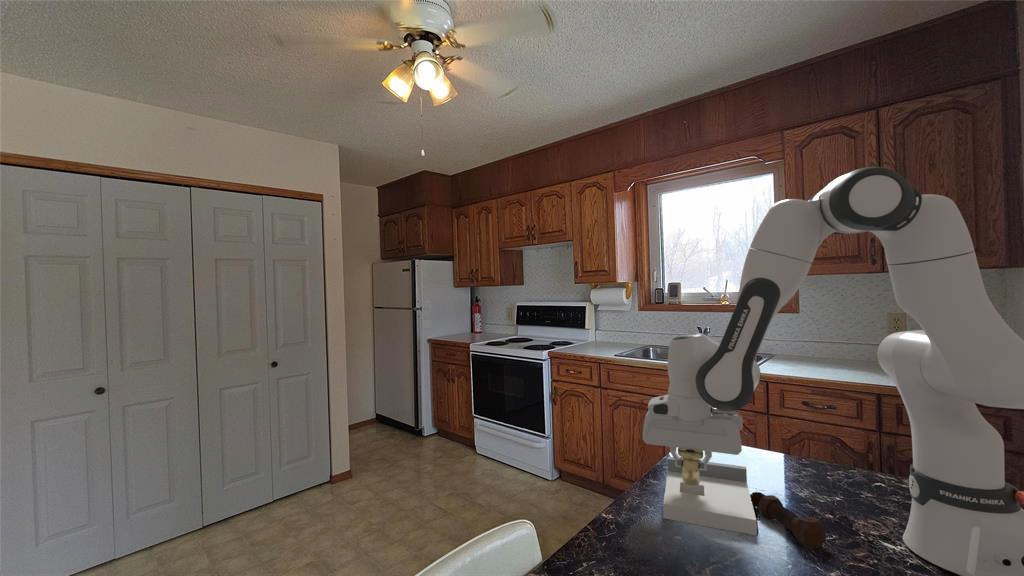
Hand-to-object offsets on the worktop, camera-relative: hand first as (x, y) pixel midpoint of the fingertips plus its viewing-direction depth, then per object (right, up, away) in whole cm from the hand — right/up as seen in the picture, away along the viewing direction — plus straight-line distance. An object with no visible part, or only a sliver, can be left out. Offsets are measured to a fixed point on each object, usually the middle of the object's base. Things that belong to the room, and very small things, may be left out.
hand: (690, 467), depth 93 cm
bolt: (+14, -8, -10) cm, 19 cm away
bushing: (0, -3, 0) cm, 3 cm away
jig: (+3, -8, -1) cm, 8 cm away
